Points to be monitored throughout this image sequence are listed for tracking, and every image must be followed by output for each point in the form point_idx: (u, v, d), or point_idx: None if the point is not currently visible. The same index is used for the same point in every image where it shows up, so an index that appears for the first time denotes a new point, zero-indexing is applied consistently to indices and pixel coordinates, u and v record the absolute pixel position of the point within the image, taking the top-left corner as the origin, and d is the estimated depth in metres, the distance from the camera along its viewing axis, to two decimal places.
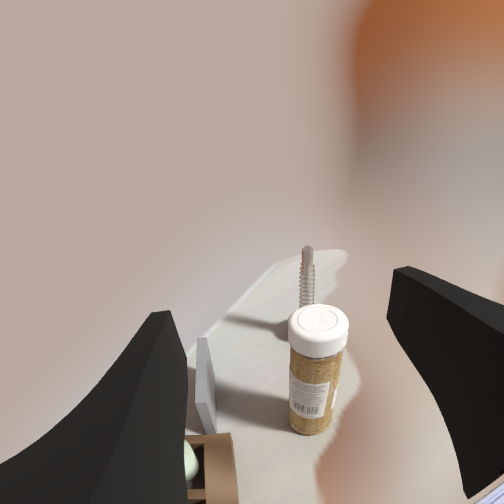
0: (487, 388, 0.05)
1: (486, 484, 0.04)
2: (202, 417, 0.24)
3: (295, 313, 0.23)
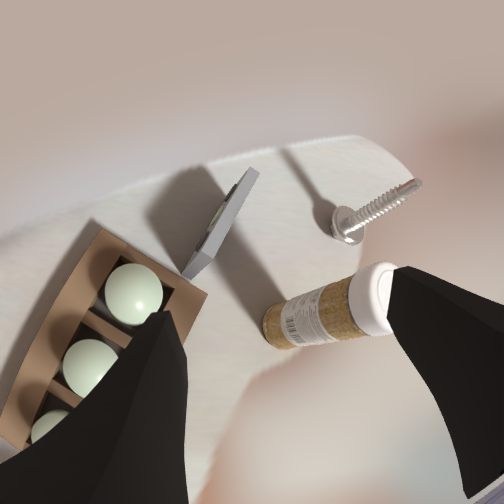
0: (487, 388, 0.05)
1: (486, 484, 0.04)
2: (194, 263, 0.22)
3: (381, 266, 0.17)
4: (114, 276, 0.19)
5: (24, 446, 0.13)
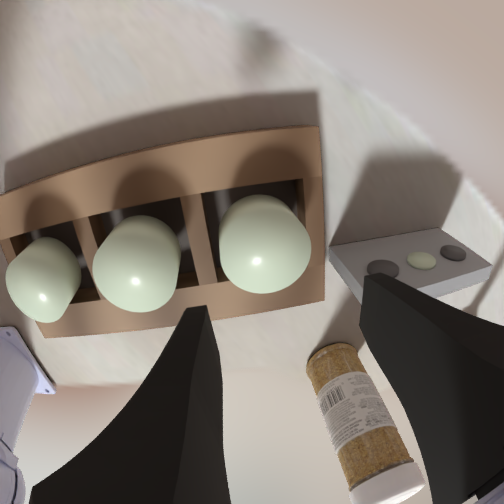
0: (455, 407, 0.05)
1: None
2: (352, 278, 0.15)
3: (417, 487, 0.11)
4: (267, 217, 0.12)
5: (5, 239, 0.13)
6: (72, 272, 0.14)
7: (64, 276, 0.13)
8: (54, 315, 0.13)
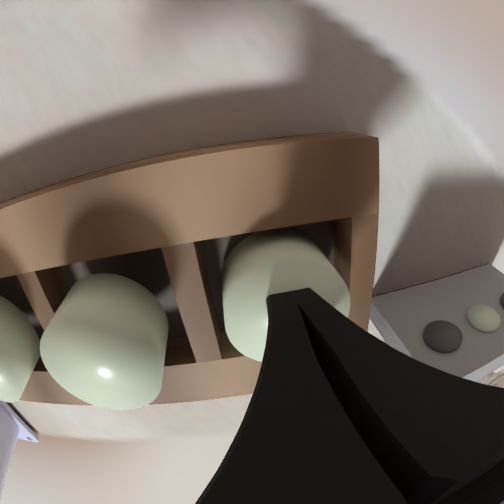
0: None
1: None
2: (404, 351, 0.10)
3: None
4: (294, 270, 0.08)
5: None
6: (24, 345, 0.09)
7: (13, 354, 0.08)
8: (11, 396, 0.08)
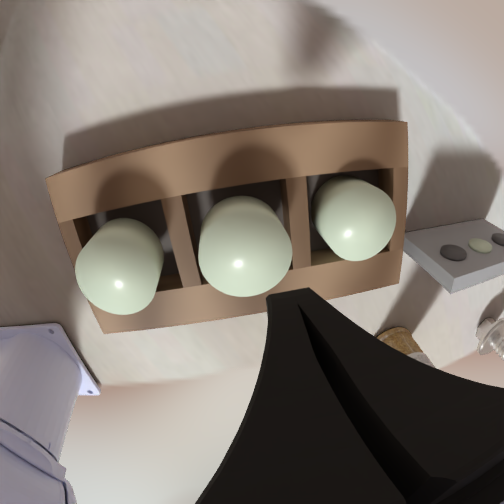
0: None
1: None
2: (429, 261, 0.15)
3: None
4: (367, 192, 0.14)
5: (67, 222, 0.14)
6: (159, 256, 0.14)
7: (154, 260, 0.13)
8: (137, 305, 0.13)
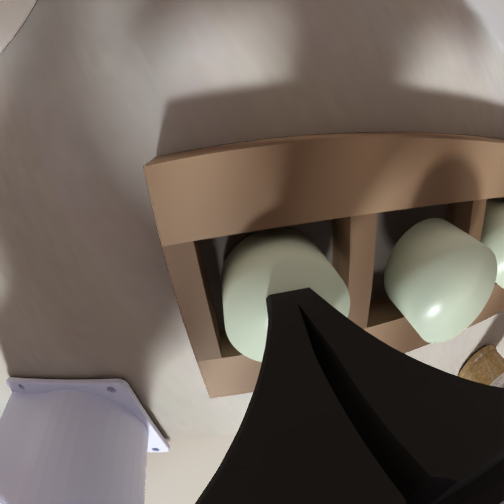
0: None
1: None
2: None
3: None
4: None
5: (181, 245, 0.09)
6: None
7: None
8: None
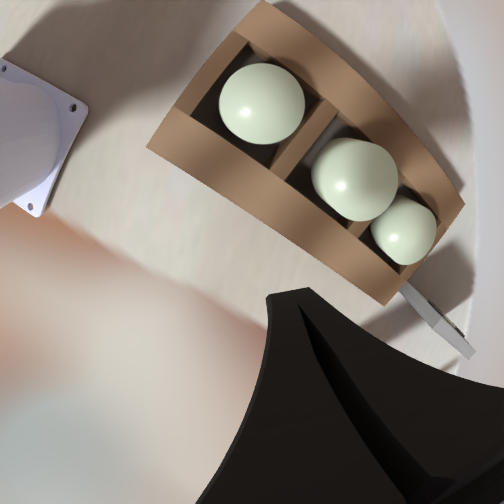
0: None
1: None
2: (422, 300, 0.19)
3: None
4: (430, 218, 0.17)
5: (242, 37, 0.12)
6: None
7: None
8: (254, 137, 0.13)
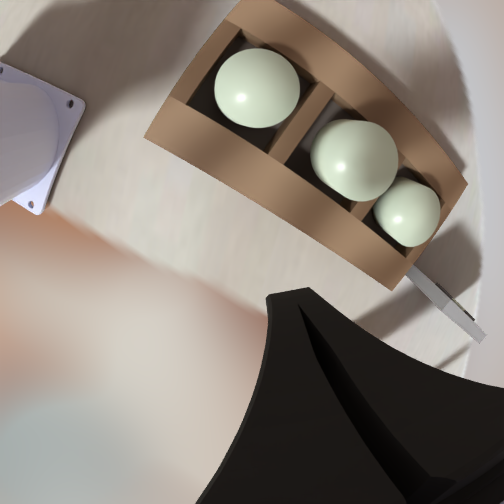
0: None
1: None
2: (429, 283, 0.18)
3: None
4: (433, 198, 0.16)
5: (233, 25, 0.12)
6: None
7: None
8: (250, 120, 0.13)
